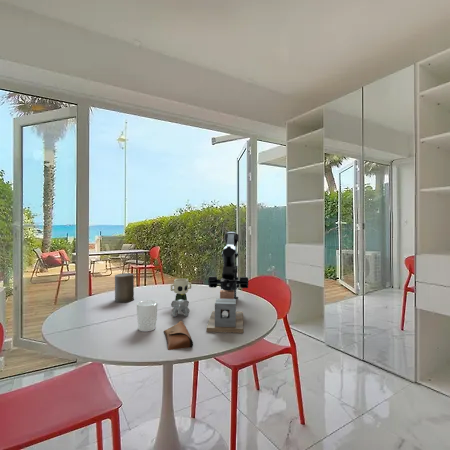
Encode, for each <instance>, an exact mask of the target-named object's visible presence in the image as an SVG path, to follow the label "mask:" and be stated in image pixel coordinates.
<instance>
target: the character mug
mask: <svg viewBox="0 0 450 450" xmlns="http://www.w3.org/2000/svg"><path fill="white" fill-rule="evenodd" d="M191 289H192V282H189V279H188V278H176V279H174V280H173V283H172V284H170V291H171V292H174V293H175V294H176V295H175V299H174V300H175V301H178V300H180V299H181V300H187V301H188V298H187V293H188V292H189V290H191Z"/></svg>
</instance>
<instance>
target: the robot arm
mask: <svg viewBox="0 0 450 450" xmlns="http://www.w3.org/2000/svg"><path fill="white" fill-rule="evenodd" d="M239 237H240V236H239V233H236V232H235V231H227V232H226V233H224V238H223V239H224V242H225V246H224V247H223V250H222V251H221V258H222V261H223V265H222V266H223V267H222V274H221V277H222V278H220V279H218V276H214V275H213V276H211V275H210V276H208V278H207V282H208V288H212V289H213V288H217V287H218V285H220V290H234V299H236V300H237V299H239V296H237V289H238V288H241V289H248V288H249V278H248V276H240V277H238V275H237V274H238V265H236V260H237V258H238V257H239V253H238V251H237V247H238V242H239Z"/></svg>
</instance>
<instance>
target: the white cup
mask: <svg viewBox="0 0 450 450" xmlns="http://www.w3.org/2000/svg"><path fill="white" fill-rule="evenodd" d="M136 317H137V318H136V319H137V330H138V331H140V332H145V333H146V332H151V331H154V330H155V329H156V328H157V320H158V318H157V317H158V301H157V300H152V299H151V300H141V301H138V302H137V303H136Z"/></svg>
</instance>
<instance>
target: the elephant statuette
mask: <svg viewBox="0 0 450 450" xmlns="http://www.w3.org/2000/svg"><path fill="white" fill-rule="evenodd" d="M189 304H190V302H189V300H188V299H187V300H181V299H180V300H178V301H175V299H174V300H172V301H171V303H170V305H171V307H172V313H171V316H172V318H173V317H174V318H175V317H177V314H178V315H179V314H180V313H181V312H182V313H183V316H184V317H188V316H189V313H190V309H189Z"/></svg>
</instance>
